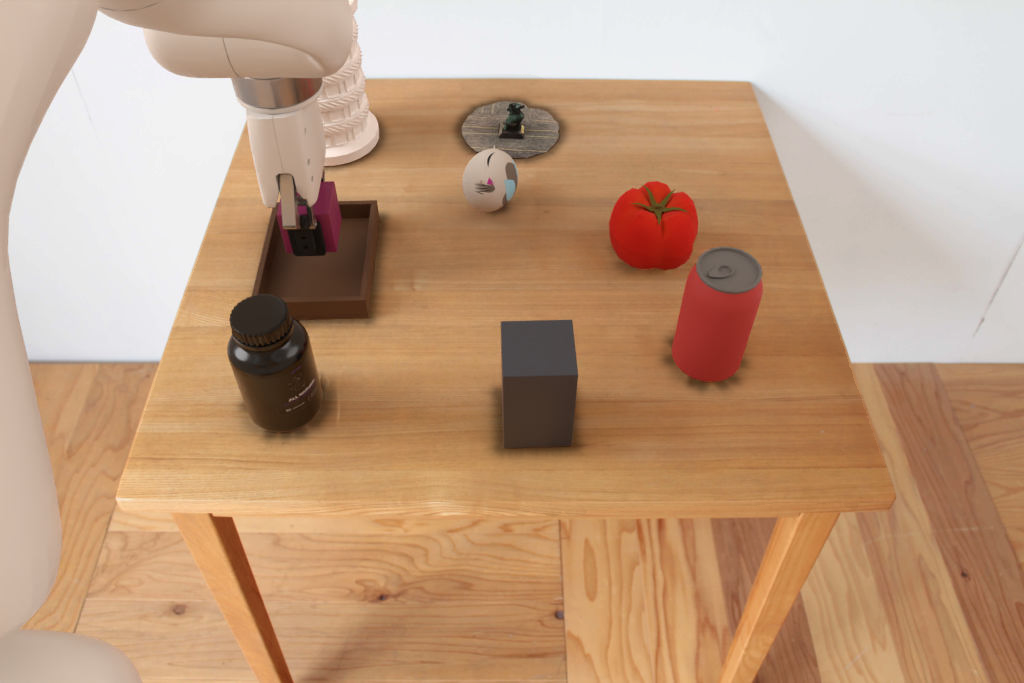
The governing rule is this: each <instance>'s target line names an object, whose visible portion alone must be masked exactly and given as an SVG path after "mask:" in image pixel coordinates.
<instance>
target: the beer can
mask: <svg viewBox="0 0 1024 683" xmlns="http://www.w3.org/2000/svg"><path fill="white" fill-rule="evenodd" d="M762 277H763V269H762V266H761V264H760V262H759V261H758V260H757V259H756V257H754V256H753V255H752V254H750V253H749V252H747V251H745V250H743V249H740V248H737V247H732V246H717V247H712V248H709V249H707V250H705V251H703V252H702V253H701V254H700V255H699V256H698V258H697V260H696V263H695V264H694V265H693V266H692V268H691V269H690V271H689V273H688V274H687V278H686V281H685V286H684V290H683V295H682V300H681V303H680V308H679V313H678V318H677V322H676V327H675V331H674V336H673V340H672V345H671V357H672V359H673V362H674V364H675V366H676V367H677V368H678V369H679V370H680V371H681V372H682V373H683V374H684V375H686V376H688V377H690V378H691V379H693V380H697V381H699V382H703V383H704V382H705V383H717V382H721V381H726V380H727V379H730V377H733V376H734V375H735V374H736V373H737V372H738V370H739V369H740V368H741V365H742V361H743V358H744V355H745V352H746V349H747V346H748V342H749V340H750V336H751V334H752V333H751V332H752V330H753V326H754V323H755V320H756V316H757V314H758V310H759V307H760V305H761V301H762V298H763V295H764V294H763V293H764V284H763V280H762V279H763V278H762Z"/></svg>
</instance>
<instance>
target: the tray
mask: <svg viewBox="0 0 1024 683" xmlns="http://www.w3.org/2000/svg"><path fill="white" fill-rule="evenodd" d="M279 202H280V201H277V203H276V207H275V208H271V212H270V217H269V221H268V224H267V225H268V226H267V229H266V234H265V238H264V243H263V247H262V251H261V255H260V258H259V263H258V268H257V271H256V275H255V276H256V277H255V280H254V284H253V288H252V293H251V296H254V295H258V294H260V295H262V294H266V295H267V294H270V295H275V296H276V297H280V299H283V300H284V302H286V304H287V306H288V307H289V311H290V314H291V316H292V318H294V319H296V320H297V321H299V320H300V321H303V320H305V321H307V320H343V319H345V320H346V319H369V317H370V309H371V302H372V293H373V292H372V291H373V290H372V289H373V282H374V273H375V264H376V256H377V254H376V253H377V244H378V236H379V226H380V213H379V206H378V200H377V199H374V200H373V199H372V200H369V199H368V200H338V203H339V208H340V213H341V218H342V221H341V228H340V234H339V241H338V248H337V252H326V254H325V255H324V256H295V255H294V254H293V253H287V252H286V248H285V244H284V241H283V237H282V233H281V230H280V226H279V222H278V219H277V211H278V207H279Z"/></svg>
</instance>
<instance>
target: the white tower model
mask: <svg viewBox="0 0 1024 683" xmlns="http://www.w3.org/2000/svg"><path fill="white" fill-rule="evenodd" d="M348 1H349V4H350V8H351V13H352V20H353V39H352V46H351V50H350V53H349V56H348V58H347V60H346V62H345V64H344V65H343V66H342V68H341V69H340V70H339V71H337V72H336V73H335V74H333V75H330V76H326V77H322V78H323V84H324V88H323V91H322V94H321V95H320V96H319V97H318V98H317V99H318V103H319V108H320V112H321V117H322V122H323V127H324V133H325V141H326V154H325V161H324V167H333V166H335V167H336V166H341V165H344V164H349V163H352V162H354V161H357V160H360V159H362V158H363V157H364V156H366V155H368V154H369V153H370V152H371V151H372V150H373V149H374V148H375V147H376V145H377V144H378V141H379V140H380V127H379V122H378V119H377V117H376V115H375V114H373V112H371V111H370V103H369V101H370V99H368V98H369V97H368V95H367V93H366V91H365V90H366V82H367V80H366V79H365V78H366V75H365V72H364V70H363V67H361V66H362V60H363V58H362V57H363V54H362V49H361V47H360V45H359V44H360V43H359V42H358V37H359V28H358V27H359V25H358V23H357V20H356V18H355V16H354V15H355V14H356V12H357V10H358V8H359V7H358V6H359V2H358V0H348Z"/></svg>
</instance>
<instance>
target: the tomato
mask: <svg viewBox="0 0 1024 683" xmlns="http://www.w3.org/2000/svg"><path fill="white" fill-rule="evenodd" d="M675 191H676V188H674V189H673V190H672V189H670V187H669V186H668V184H667V183H665V182H661V181H658V180H654V181H653V180H652V181H647V182H646V183H644V184H642V185H641V186H640V187H639V188H634V187H632V188H630V189H628V190H626V191H625V192H623V193H622V194H621V195H620V196H619V197H618V198H617V200H616V202H615V203H614V205H613V208H612V210H611V214H610V216H609V217H610V218H609V222H608V231H609V234H608V235H609V241H610V244H611V246H612V249H613V251H614V253H615V254H616V256H617V258H618V259H619V260H621V261H622V262H623V263H624V264H626V265H628V266H629V267H631V268H634V269H638V270H654V269H659V270H662V271H671V270H676V269H678V268H680V267H682V266H683V265H685V264H686V263H687V262H688V261H689V260H690V259H691V256H692V253H693V250H694V243H695V241H696V239H697V236H698V233H699V218H698V212H697V208H696V204H695V201H694V200H693V199H692V198H691V196H689V194H688V193H686V192H684V191H679V192H675Z"/></svg>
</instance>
